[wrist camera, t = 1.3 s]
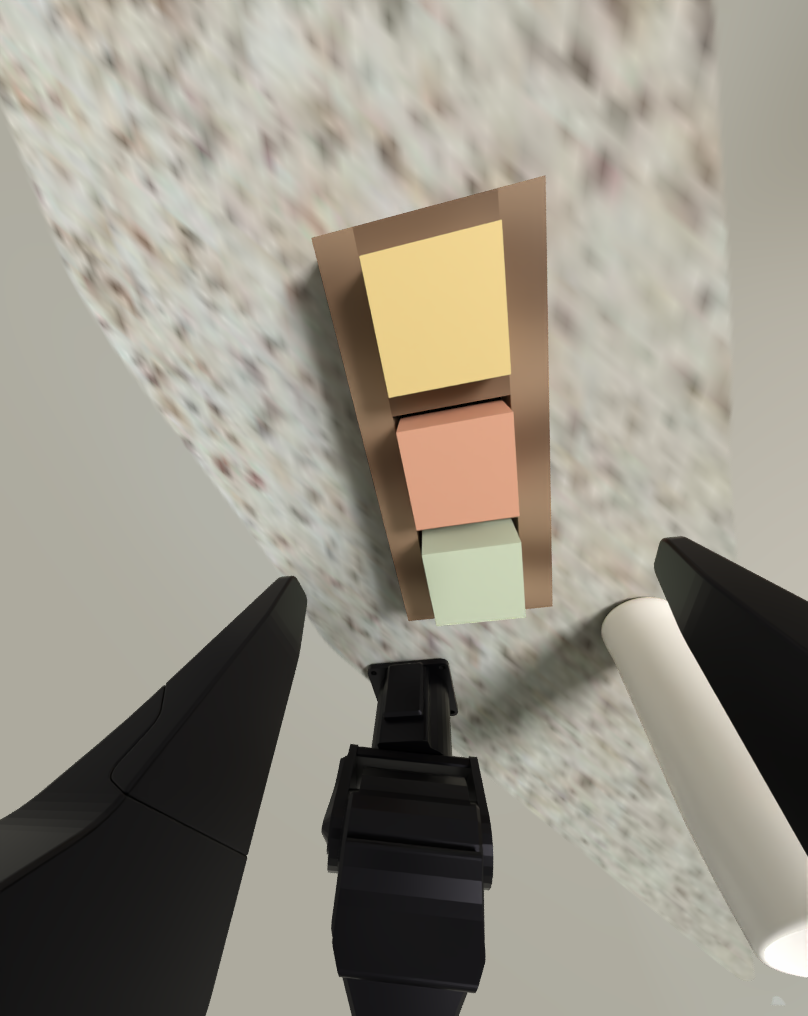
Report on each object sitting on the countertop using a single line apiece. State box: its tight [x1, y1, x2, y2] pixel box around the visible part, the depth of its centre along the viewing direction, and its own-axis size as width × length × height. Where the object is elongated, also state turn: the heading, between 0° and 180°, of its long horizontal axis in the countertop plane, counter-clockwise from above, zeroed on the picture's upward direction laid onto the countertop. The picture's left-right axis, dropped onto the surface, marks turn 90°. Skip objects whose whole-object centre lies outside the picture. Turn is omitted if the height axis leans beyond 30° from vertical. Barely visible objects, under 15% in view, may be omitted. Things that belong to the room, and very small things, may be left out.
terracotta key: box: [396, 400, 520, 530], centre depth 18 cm, size 5×5×3 cm
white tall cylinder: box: [601, 597, 808, 978], centre depth 19 cm, size 7×7×15 cm
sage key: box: [422, 518, 526, 626], centre depth 20 cm, size 5×5×3 cm
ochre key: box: [359, 220, 511, 398], centre depth 15 cm, size 5×5×3 cm
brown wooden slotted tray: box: [312, 176, 552, 621], centre depth 19 cm, size 21×9×2 cm, turn 11°
